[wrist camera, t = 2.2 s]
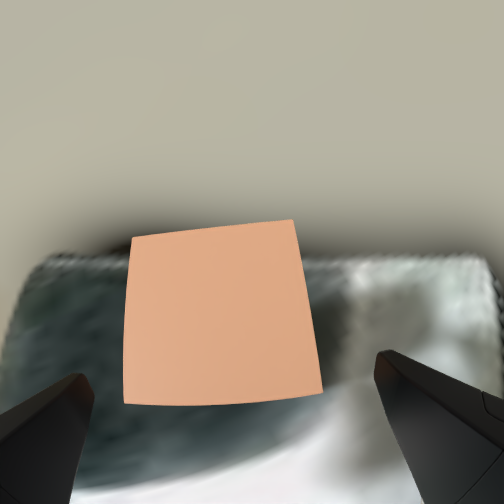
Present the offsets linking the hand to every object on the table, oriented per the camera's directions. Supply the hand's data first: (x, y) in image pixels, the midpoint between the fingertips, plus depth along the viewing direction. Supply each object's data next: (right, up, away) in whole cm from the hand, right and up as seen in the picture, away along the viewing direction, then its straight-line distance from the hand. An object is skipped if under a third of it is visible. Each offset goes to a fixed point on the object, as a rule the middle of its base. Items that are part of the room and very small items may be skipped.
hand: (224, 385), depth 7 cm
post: (0, -3, +9) cm, 10 cm away
